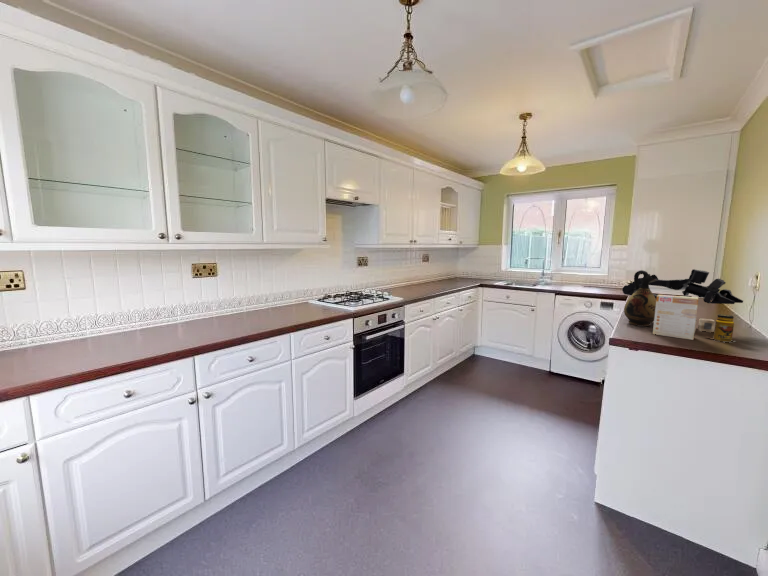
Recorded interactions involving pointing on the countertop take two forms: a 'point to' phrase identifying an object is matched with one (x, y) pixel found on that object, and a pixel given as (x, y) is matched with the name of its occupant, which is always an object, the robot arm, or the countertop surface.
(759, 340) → the countertop surface
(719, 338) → the condiment
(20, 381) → the countertop surface
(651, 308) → the ceramic jug
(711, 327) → the beech block
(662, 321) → the coffeecake box
